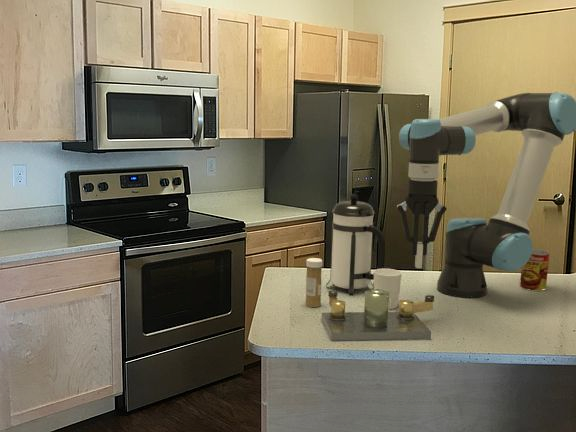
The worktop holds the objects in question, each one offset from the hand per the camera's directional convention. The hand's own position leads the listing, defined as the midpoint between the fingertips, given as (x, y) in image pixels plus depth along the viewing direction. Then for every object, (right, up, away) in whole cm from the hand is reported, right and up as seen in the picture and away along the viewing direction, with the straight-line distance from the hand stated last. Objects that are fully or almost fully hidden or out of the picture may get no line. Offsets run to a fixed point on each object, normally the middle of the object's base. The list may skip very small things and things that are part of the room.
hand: (418, 266), depth 169 cm
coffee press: (-14, -10, +28) cm, 33 cm away
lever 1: (-22, -12, -1) cm, 25 cm away
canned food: (+44, -10, +36) cm, 58 cm away
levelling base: (-13, -16, -6) cm, 21 cm away
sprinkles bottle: (-28, -12, +12) cm, 33 cm away
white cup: (-7, -12, +13) cm, 19 cm away
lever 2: (-1, -13, -1) cm, 13 cm away
